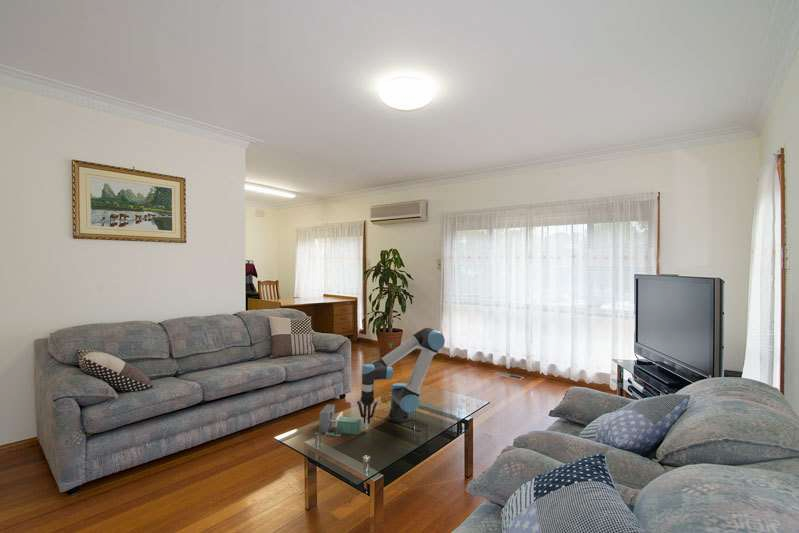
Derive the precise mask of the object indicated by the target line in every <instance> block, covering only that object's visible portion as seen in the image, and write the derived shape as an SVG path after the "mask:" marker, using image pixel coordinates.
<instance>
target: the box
mask: <svg viewBox="0 0 799 533" xmlns="http://www.w3.org/2000/svg"><path fill="white" fill-rule="evenodd" d="M362 424H363V422H362V417H360V418H359V417H349V416H348V417H346V416H343V417H341V418H340V419H339V420H338V432H337V433H340V434H347V435H348V434H349V435H358V436H359V434H360V432H361V430H362V426H363V425H362Z"/></svg>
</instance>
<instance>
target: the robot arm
mask: <svg viewBox="0 0 799 533" xmlns="http://www.w3.org/2000/svg"><path fill="white" fill-rule="evenodd" d="M445 343H446V339H445V337H444V334H443V332H440V331H439V330H437V329H433V328H432V327H431V328H430V327H425V328H422V329H421V330H418V331H417V332H416V333H415V332H414V334H413V335H411V338H409V339H407V340H405V342H403V343H401V344H400V345H399V346H397V347H396V348H395V349H393V350H391V351H390V352H388V353H387V354H385V355H384V356H383V357H381V358H380V359H378V360H373V361H372V362H371V363H365V364H363V365H362V367H361V393H360V394H361V396H360V399H358V400H357V401H356V403H357V405H358V409H359V416H360V418H363V424H364V430H366V431H367V430H368V429H369V424H371V419H372V418H374V415H375V410H376V407H377V405H378V403H379V402H378V401H376V400H375V398H374V396H375V395H374V394H375V393H374V392H375V391H374V389H375V381H381V380H382V381H384V380H390V379H392V378H393V377H394V369H393V367H392V366H393V364H396V363H397V362H398V361H400V360H401V359H402V358H404V357H405V356H408V355H409V354H410V353H411V352H412V351H414V350H416V349H417V348H421V351H420V353H419V355H418V358H417V360H416V362H415V365H414V367H413V369H412V371H411V374H410V377H409V378H408V381H407V382H396V383H395V382H394V383H393V384H392V385H391V388H390V390H391V391H390V407H389V411H388V412H387V419H388V420H389V421H391V422H393V423H399V424H400V423H406V422H408V420H409V419H410V420H411V413H413V412H416V410H418V408H419V406H420V399H419V398H420V395H421V391H420V389H421V386H422V384H423V381H424V380H425V377H426V375H427V372H428V369H429V368H430V365H431V363H432V362H433V361H432V360H433V358H434V356H435V355H437V354H438V352H439V350H441V349H443V347H444V346H445ZM372 404H373V406H372ZM362 405H363V406H362ZM371 407H372V410H371ZM410 420H409V421H410Z"/></svg>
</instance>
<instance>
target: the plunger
mask: <svg viewBox="0 0 799 533" xmlns="http://www.w3.org/2000/svg"><path fill="white" fill-rule="evenodd" d="M343 415H344V411H341V412H339V413H338V415H337V417H336V418H335V419H334V420H330V423H334V425H335V426H334V429H333V433H334V434H335V433H338V420H339V419H340V418H341V417H344V416H343Z"/></svg>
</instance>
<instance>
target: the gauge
mask: <svg viewBox="0 0 799 533" xmlns="http://www.w3.org/2000/svg"><path fill="white" fill-rule="evenodd" d="M330 420H335V404H327V403H326V405H325V406H323V409H322V410H320V411H319V420H318V421H319V422H318V423H319V425H318V433H319V432H322V433H321V434H324V435H325V436H329V437H330V436H332V437H341V436H342V433H338V432H337V433H335V434H334V432H329V431H330V430H331V428H332V427H333V426H334V425H335V423H330Z"/></svg>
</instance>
